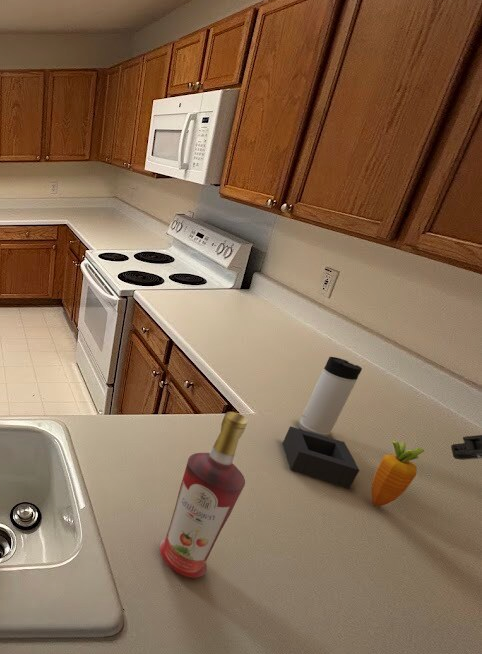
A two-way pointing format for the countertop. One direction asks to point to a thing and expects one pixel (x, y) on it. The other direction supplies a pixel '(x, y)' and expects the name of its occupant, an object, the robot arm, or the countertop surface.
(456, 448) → the robot arm
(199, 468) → the liquor
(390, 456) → the carrot
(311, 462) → the socket pad
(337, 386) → the travel mug
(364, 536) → the countertop surface
